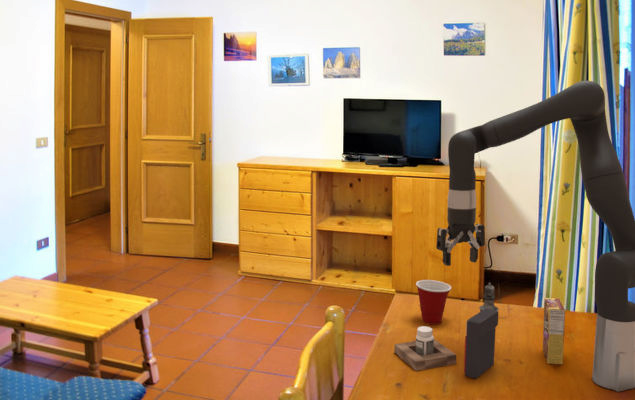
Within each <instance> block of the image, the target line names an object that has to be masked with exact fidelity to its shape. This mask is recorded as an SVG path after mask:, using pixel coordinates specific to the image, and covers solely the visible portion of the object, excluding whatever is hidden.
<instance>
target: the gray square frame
mask: <svg viewBox="0 0 635 400" xmlns="http://www.w3.org/2000/svg"><path fill="white" fill-rule="evenodd" d="M393 348H394V350H393V351H394V354H395V353H396V354H397V355H398V356H397V355H396V354H395V355H396V356H397V357H399V358H400V359H401V360H402V359H403V360H404V361H403V360H402V361H403V362H404V363H406V364H407V365H408V366H409V367H410V366H411V369H413V370H414V371H415V372H418V370H419V371H425V370H428V369H434V368H441V367H446V366H451V365H455V364H457V354H456V353H455V352H453V351H452V350H450V349H449V348H448V347H446V346H445V345H443V344H442V343H441V342H440V341H438V340H437V339H435V338H434V354H430V355H424V356H419V355H418V354H417V353H416V340H414V341H413V340H412V341H407V342H402V343H401V342H400V343H395V344H394V347H393Z"/></svg>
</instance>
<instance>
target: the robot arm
mask: <svg viewBox="0 0 635 400" xmlns="http://www.w3.org/2000/svg"><path fill="white" fill-rule="evenodd" d="M568 119H570V122H571V124H572V127H573V130H574V134H575V136H576V139H577V143H578V149H579V164H580V172H581V177H582V178H581V179H582V183H583V186H584V191H585V195H586V199H587V201H588V204H589V205H590V207H591V208H592V210H594V211H593V212H594V213H596V215H597V216H598V217H599V218H600V219H601V221H602V222H603V223H604V225H605V226H606V227H607V230H608V231H609V233H610V235H611V239H612V242H613V245H614V249H615V250H613V251H607V252H604V253H603V254H601V255H600V256H599V257H598V258H597V261H596V263H595V270H594V300H595V302H594V303H595V305H596V308H597V309H596V323H595V333H594V334H595V335H594V336H595V337H594V347H593V348H594V349H593V360H592V361H593V362H592V363H593V364H592V377H591V378H592V381H593V382H594V383H595V384H596V385H598V386H600V387H603V388H606V389H610V390H613V391H615V392H622V391H628V390H630V389H631V390H632V389H635V302H632V301H630V300H629V289H634V288H635V215H634V212H633V208H632V205H631V200H630V198H629V197H630V196H629V193H628V188H627V187H628V186H627V183H626V180H625V179H626V178H625V174H624V171H623V168H622V164H621V162H620V159H619V156H618V154H617V152H616V149H615V148H614V145H613V143H612V140H611V138H610V137H611V136H610V134H609V130H608V129H609V128H608V123H607V115H606V94H605V91H604V89H603V88H602V86H601V84H599V83H598V82H595V81H592V80H581V81H578V82H575V83H573V84H572V85H570V86H568V87H567V88H565V89H563V90H561V91H559V92H557V93H555V94H553V95H552V96H550V97H548V98H546V99H544V100H541V101H539V102H537V103H535V104H532V105H530V106H527V107H524V108H522V109H519V110H516V111H513V112H511V113H508V114H506V115H502V116H500V117H496V118H494V119H492V120H489V121H487V122H485V123H484V124H481V125H477V126H474V127H471V128H468V129H465V130H461V131H459V132H457V133H455V134H453V135H452V136H451V137H450V139H449V141H448V146H447V147H448V149H447V151H448V153H447V154H448V155H447V156H448V157H447V158H448V166H449V167H448V168H449V176H448V192H447V214H446V215H447V216H446V217H447V218H446V219H447V224H448V225H447V228H442V227H438V228H437V232H436V233H437V234H436V244H435V245H436V247H435V248H436V249H437V250H438V251H441V252H442V263H443V265H444V266H446V267H448V266H449V267H451V264H452V263H451V262H452V253H451V251H452V250H453V248H454V247H456V245H458V244H461V243H468V244H469V246H470V248H469V261H470V262H471V263H477V261H478V259H479V249H480V248H481V247H484V246H485V245H486V239H485V238H486V236H485V234H486V233H485V232H486V231H485V230H486V229H485V227H486V226H485V225H484V224H481V223H476V219H477V194H476V193H477V192H476V186H477V185H476V179H477V176H476V170H475V155H476V154H478V153H479V152H482V151H485V150H488V149H490V148H495V147H496V148H497V147H501V146H504V145H506V144H509V143H513V142H515V141H517V140H520V139H522V138H525V137H527V136H529V135H530V134H533V133H534V132H536V131H537V130H540V129H542V128H544V127H546V126H549V125H551V124H554V123H556V122H560V121H563V120H568ZM475 223H476V224H475ZM474 233H475V236H474Z"/></svg>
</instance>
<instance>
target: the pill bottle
mask: <svg viewBox="0 0 635 400" xmlns="http://www.w3.org/2000/svg"><path fill="white" fill-rule="evenodd" d="M434 339H435V338H434V335H433V328H431V326H426V325H425V326H424V325H422V326H418V327H417V330H416V336H415V341H416V353H417V354H418V355H419V356H424V355H430V354H434Z"/></svg>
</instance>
